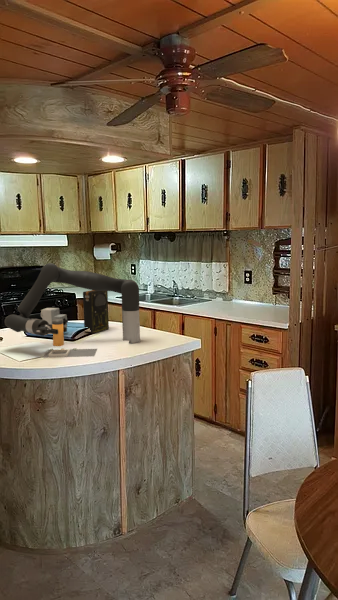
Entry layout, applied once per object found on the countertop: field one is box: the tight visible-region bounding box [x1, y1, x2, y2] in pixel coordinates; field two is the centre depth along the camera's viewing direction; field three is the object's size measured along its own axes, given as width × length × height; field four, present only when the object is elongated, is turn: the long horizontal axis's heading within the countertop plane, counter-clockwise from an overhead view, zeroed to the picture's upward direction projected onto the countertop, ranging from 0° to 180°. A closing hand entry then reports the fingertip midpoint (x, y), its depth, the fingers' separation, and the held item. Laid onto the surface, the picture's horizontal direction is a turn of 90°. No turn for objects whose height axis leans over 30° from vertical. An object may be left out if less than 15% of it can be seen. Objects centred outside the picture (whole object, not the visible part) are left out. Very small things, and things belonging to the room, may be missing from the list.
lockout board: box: [42, 347, 98, 359], centre depth 222 cm, size 24×14×3 cm, turn 92°
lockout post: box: [52, 319, 65, 347], centre depth 219 cm, size 5×5×12 cm
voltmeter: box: [82, 290, 110, 334], centre depth 275 cm, size 16×9×25 cm, turn 148°
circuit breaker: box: [40, 307, 69, 328], centre depth 269 cm, size 8×14×15 cm, turn 78°
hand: (62, 330), depth 217 cm, fingers closed on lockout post, 5 cm apart
